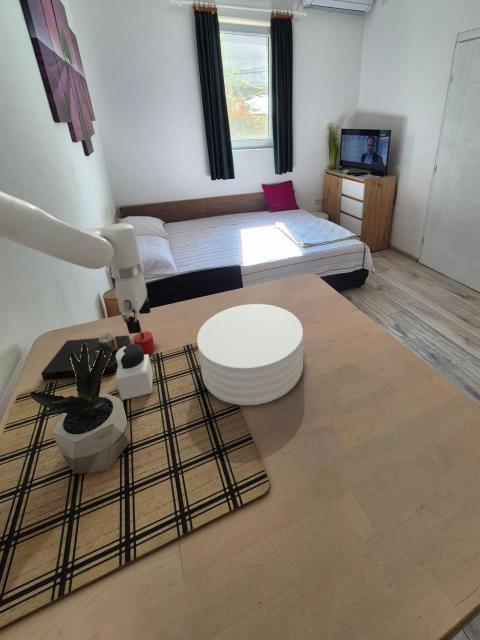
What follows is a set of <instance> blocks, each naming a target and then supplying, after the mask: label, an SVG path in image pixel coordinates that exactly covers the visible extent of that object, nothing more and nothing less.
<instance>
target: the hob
mask: <svg viewBox="0 0 480 640" xmlns="http://www.w3.org/2000/svg"><path fill="white" fill-rule="evenodd" d="M114 336H115V340H116V344H117V347H118V349H117V351H116V352H115V353H113V354H112V355H111V357H110V360H109V361H108V363H107V365H106V367H105V370H104V373H103V375H113V374H115V372H117V369H118V363H117V360H116V353H117V352H118V351H119V350H120V349H121V348H122V347H124V346H127V345H130V344H131V339H130V335H128V334H127V335H117V336H116V335H114ZM99 338H100V337H91V338H80V339H79V338H78V339H70V340H69V339H68V340H66V341H65V343H64V344H63V345H62V346H61V348H60V349H59V350H58V351H57V352H56V354H55V355H54V356H53V358H52V359H51V360H50V361H49V362H48V363H47V365H46V366H45V368H44V369H43V370H42V371H41V373H40V374H41V377H42V379H43V381H51V380H62V379H73V378H76V377H75V372H74V370H73V367H72V364H71V360H70V353H74V354H75V355H76V357H77V359H78V360H80V355H81V348H82V344H83V343H86V345H87V348H88V355H89V365H90V369H91V368H92V366H93V364H94V362H95V360H96V357H97V354H98V351H99V350H100V349H101V347H100V343H99ZM103 375H102V376H103Z"/></svg>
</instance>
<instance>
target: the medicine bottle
mask: <svg viewBox="0 0 480 640" xmlns="http://www.w3.org/2000/svg"><path fill="white" fill-rule="evenodd" d="M149 355H150V354H149ZM149 355H148V354H146V355H144V354H143V349H142V347H141V346H140V345H137V344H134V343H129V345H127V346H124V347H122V348H121V349H120V350H119V351H118V352H117V353H116V360H117V363H118V367H117V369H116V374H115V383H116V387H117V390H118V394H119V397H120V400H121V401H124V400H128V399H133V398H136V397H141V396H145V395H149V394H152V392H153V381H154V380H153V378H154V372H153V369H152V364H151V360H150V359H151V358H150V356H149Z"/></svg>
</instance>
